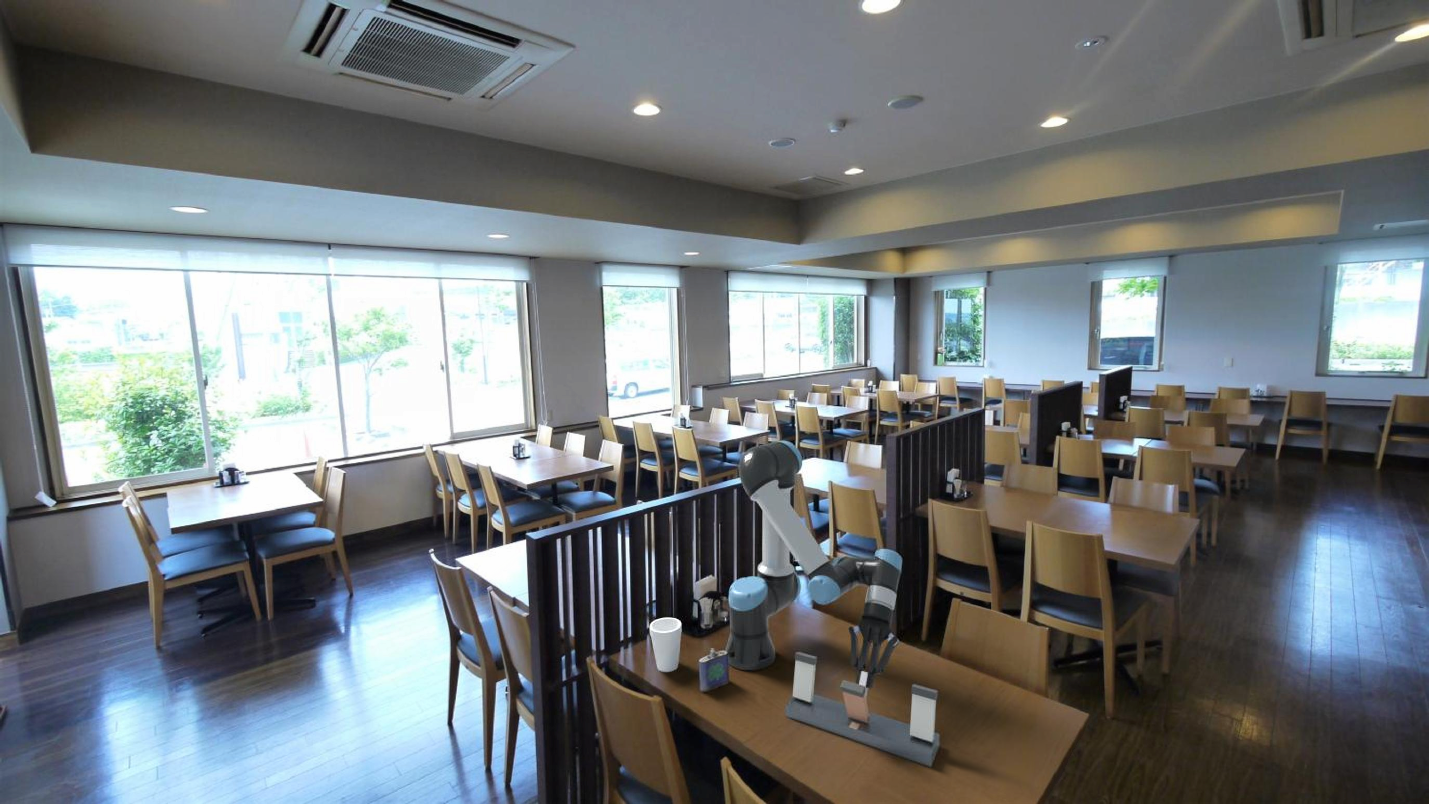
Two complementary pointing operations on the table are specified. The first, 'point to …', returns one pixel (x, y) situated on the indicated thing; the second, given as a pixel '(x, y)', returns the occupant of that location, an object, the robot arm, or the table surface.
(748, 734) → the table surface
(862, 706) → the lever middle
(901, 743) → the switch panel
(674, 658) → the foam cup
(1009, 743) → the table surface
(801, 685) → the lever left
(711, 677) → the flask
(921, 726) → the lever right
